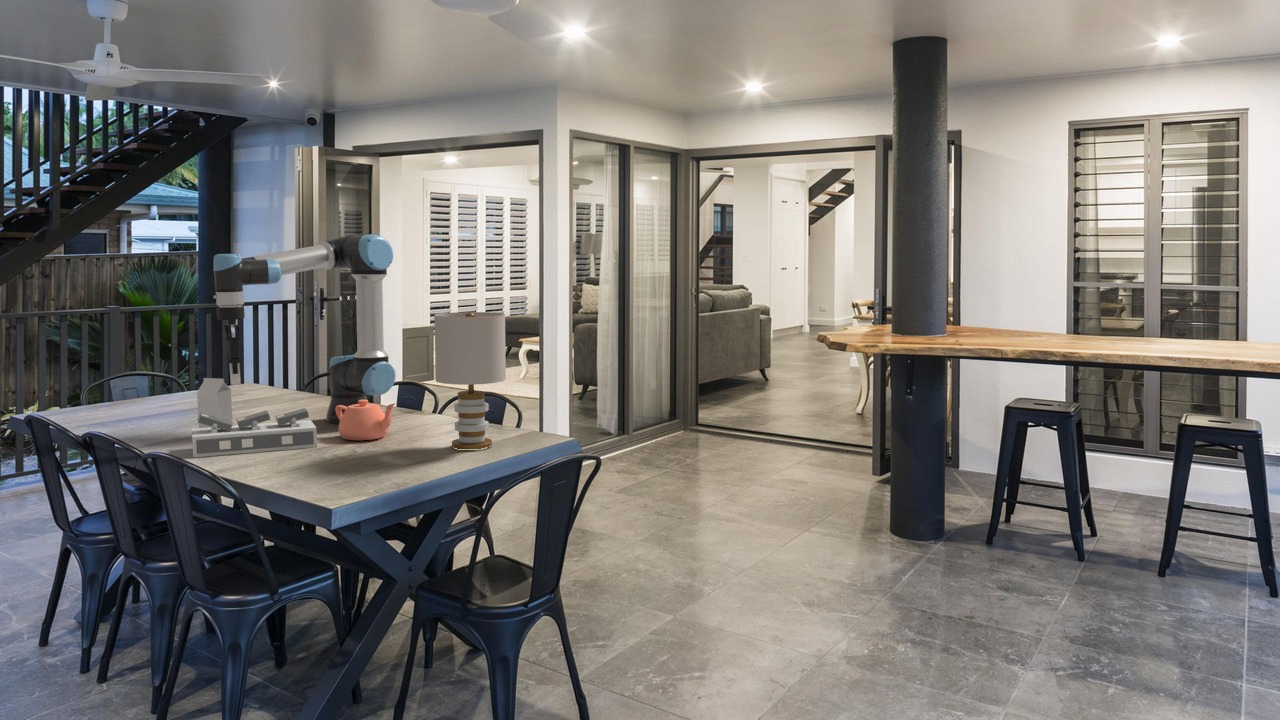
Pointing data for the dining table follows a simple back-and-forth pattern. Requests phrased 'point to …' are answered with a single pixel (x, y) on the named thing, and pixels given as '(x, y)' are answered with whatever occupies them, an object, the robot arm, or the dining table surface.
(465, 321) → the lamp
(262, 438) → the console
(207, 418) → the rocker
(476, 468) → the dining table surface
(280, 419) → the plate
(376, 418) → the teapot
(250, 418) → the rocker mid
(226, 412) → the milk carton
